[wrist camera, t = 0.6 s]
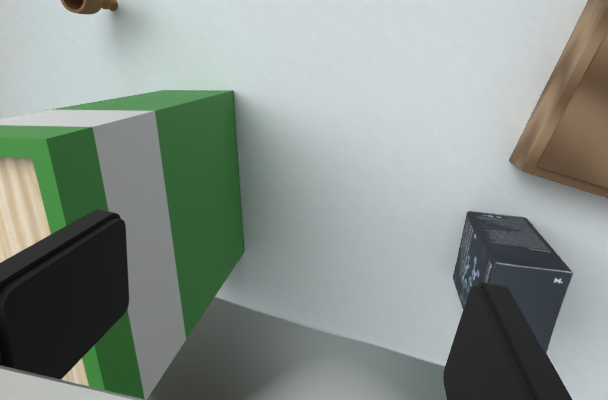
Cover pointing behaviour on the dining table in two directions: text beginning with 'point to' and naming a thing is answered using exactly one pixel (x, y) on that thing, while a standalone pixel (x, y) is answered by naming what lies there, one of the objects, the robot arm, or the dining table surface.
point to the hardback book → (133, 212)
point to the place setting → (89, 5)
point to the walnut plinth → (573, 112)
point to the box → (513, 267)
